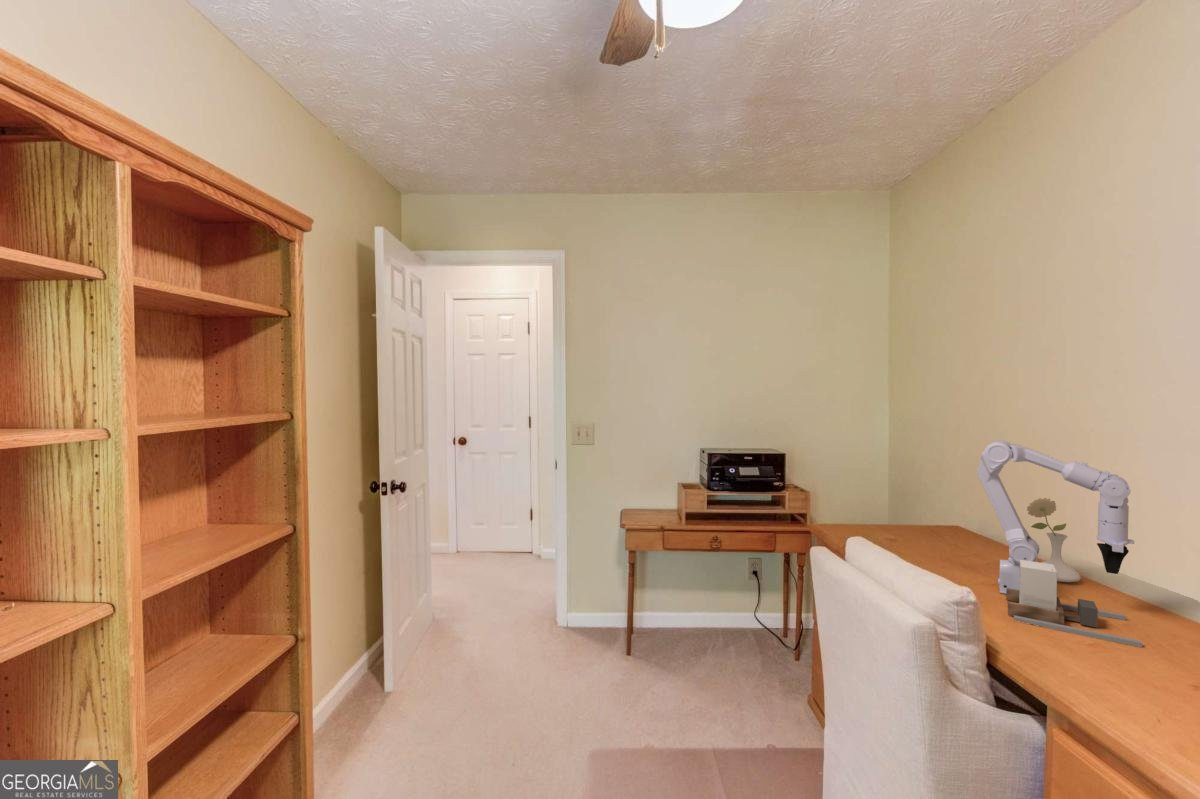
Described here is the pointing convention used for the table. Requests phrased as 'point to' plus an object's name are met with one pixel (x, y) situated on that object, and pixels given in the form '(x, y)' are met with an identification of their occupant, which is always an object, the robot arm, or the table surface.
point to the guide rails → (1083, 631)
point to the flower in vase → (1053, 539)
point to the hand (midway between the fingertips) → (1111, 572)
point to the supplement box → (1038, 585)
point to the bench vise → (1084, 616)
